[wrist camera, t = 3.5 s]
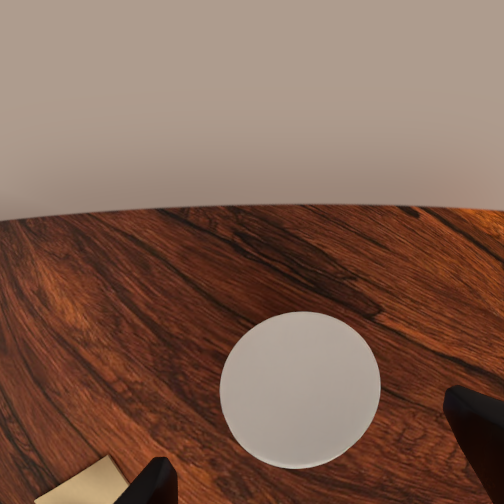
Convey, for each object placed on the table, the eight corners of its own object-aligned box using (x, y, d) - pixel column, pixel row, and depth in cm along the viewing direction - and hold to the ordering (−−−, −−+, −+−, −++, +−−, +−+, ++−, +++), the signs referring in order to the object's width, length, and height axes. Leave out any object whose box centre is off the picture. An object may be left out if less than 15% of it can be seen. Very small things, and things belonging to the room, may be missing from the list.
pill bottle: (308, 340, 19) (320, 260, 10) (366, 413, 16) (436, 396, 8) (228, 394, 18) (167, 361, 9) (283, 471, 15) (273, 519, 6)
